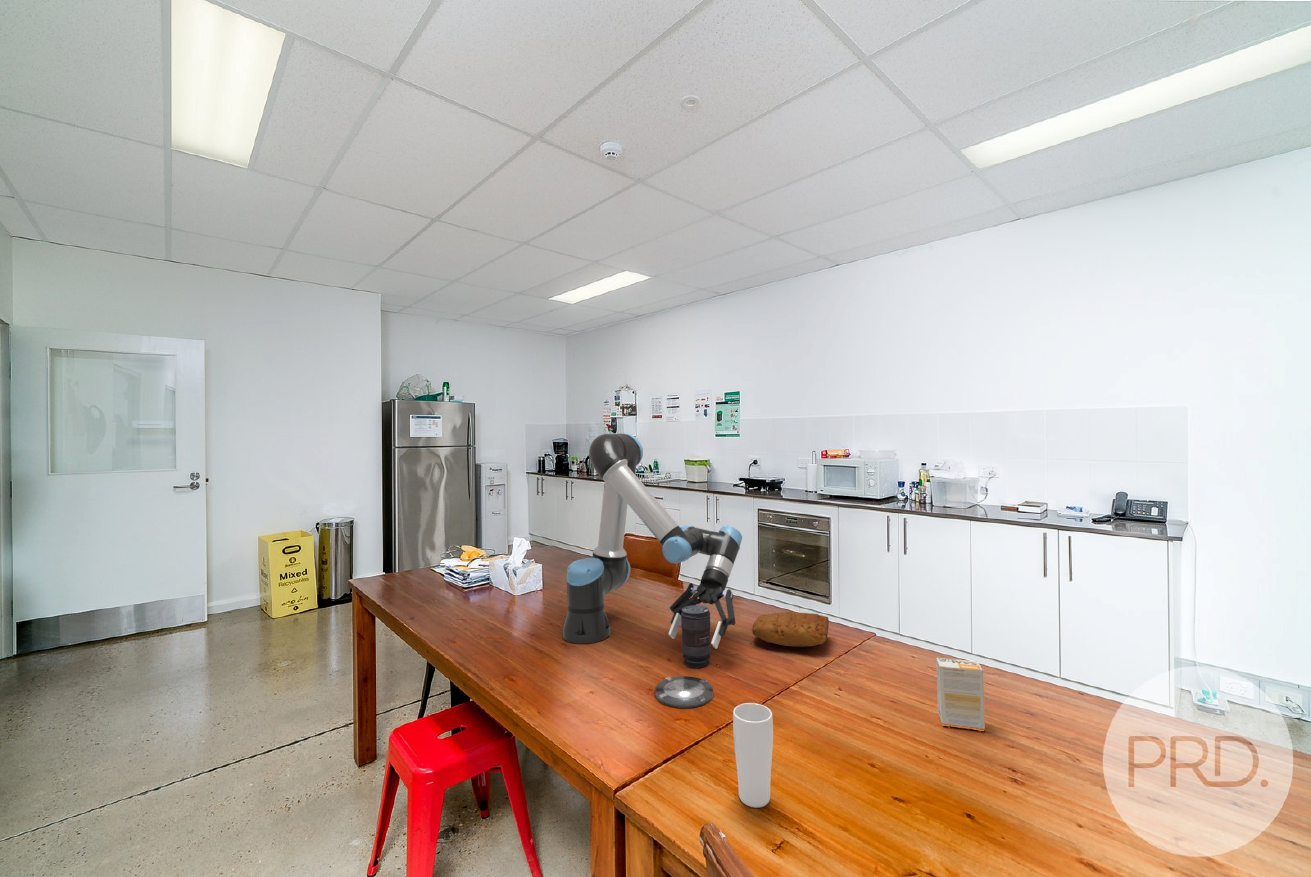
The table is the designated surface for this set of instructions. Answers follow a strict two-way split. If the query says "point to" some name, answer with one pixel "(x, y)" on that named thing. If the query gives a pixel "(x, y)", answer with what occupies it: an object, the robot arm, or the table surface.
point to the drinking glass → (753, 752)
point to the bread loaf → (792, 628)
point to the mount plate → (684, 692)
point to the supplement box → (960, 693)
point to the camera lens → (696, 635)
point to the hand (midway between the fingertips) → (692, 641)
